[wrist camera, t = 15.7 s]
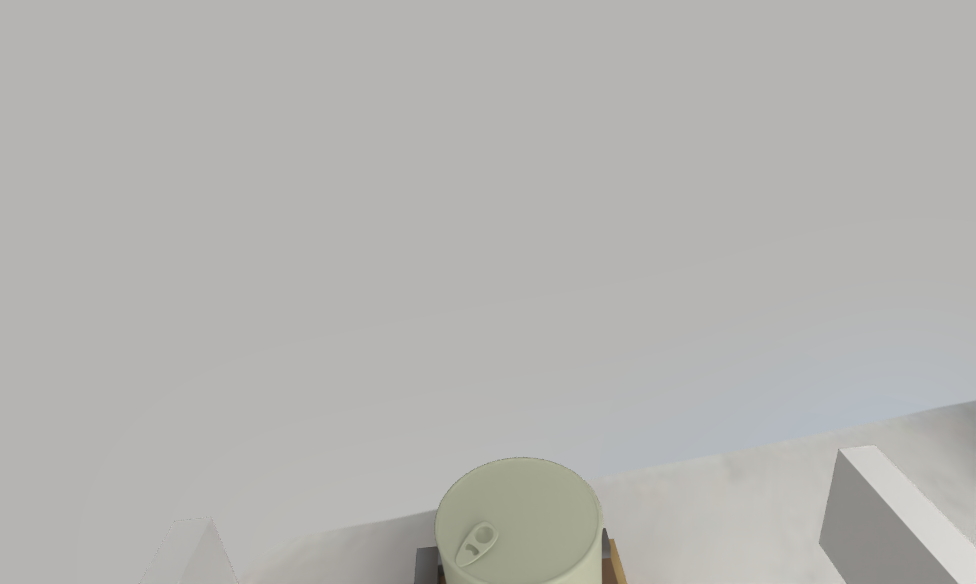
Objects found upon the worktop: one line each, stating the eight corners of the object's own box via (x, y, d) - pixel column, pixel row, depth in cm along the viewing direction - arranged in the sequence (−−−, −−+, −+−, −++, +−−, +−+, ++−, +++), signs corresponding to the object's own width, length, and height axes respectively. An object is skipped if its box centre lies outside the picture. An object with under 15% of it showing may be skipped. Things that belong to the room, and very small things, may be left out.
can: (429, 651, 37) (397, 513, 32) (528, 559, 42) (515, 429, 37) (535, 771, 30) (518, 623, 25) (637, 645, 36) (639, 502, 31)
